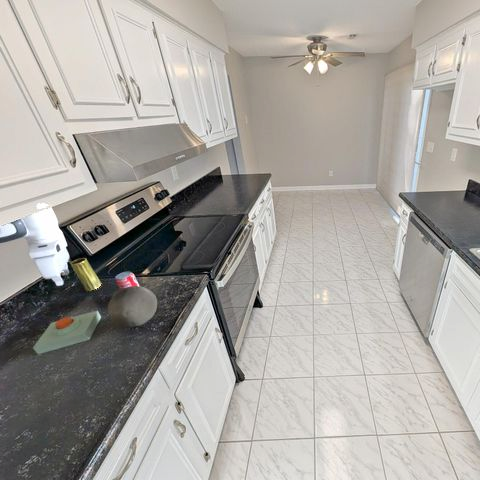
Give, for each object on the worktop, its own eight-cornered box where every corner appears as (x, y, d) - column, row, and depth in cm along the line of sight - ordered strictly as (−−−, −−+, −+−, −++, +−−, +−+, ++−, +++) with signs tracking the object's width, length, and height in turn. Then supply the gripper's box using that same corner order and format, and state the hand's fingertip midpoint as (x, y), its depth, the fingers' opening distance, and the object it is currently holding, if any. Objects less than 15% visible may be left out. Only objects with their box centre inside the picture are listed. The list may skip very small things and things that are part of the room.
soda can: (125, 305, 103) (112, 281, 97) (127, 297, 107) (114, 273, 102) (143, 299, 105) (131, 275, 100) (144, 291, 110) (132, 268, 105)
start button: (55, 330, 86) (52, 327, 85) (61, 322, 89) (58, 319, 88) (69, 326, 87) (67, 323, 86) (74, 319, 91) (72, 315, 90)
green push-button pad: (38, 354, 83) (29, 343, 81) (56, 328, 93) (48, 318, 91) (89, 339, 88) (82, 329, 85) (101, 316, 98) (95, 307, 95)
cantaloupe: (114, 325, 93) (95, 293, 86) (156, 304, 102) (142, 273, 95) (125, 345, 84) (105, 311, 77) (169, 320, 93) (155, 288, 87)
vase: (88, 293, 112) (72, 266, 105) (83, 289, 115) (66, 262, 108) (104, 285, 116) (89, 259, 109) (99, 282, 119) (84, 256, 112)
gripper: (43, 237, 94) (57, 271, 99) (26, 256, 78) (44, 294, 83) (66, 234, 97) (79, 266, 102) (54, 251, 82) (69, 288, 87)
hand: (63, 279), depth 93 cm, fingers open, 8 cm apart
